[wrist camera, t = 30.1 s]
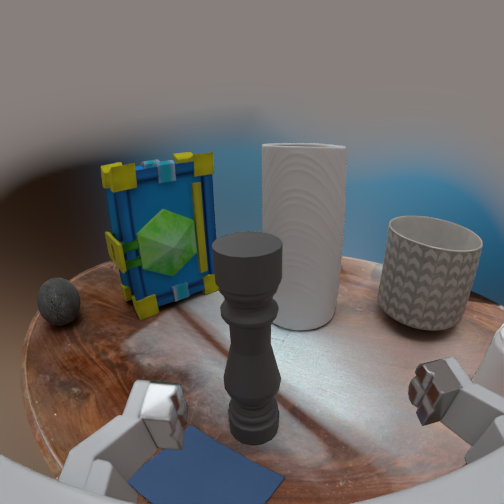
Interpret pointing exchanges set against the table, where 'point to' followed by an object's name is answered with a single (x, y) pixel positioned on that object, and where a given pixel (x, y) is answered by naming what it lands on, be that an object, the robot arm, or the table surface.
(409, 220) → the planter
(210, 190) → the decorative book
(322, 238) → the vase
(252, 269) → the candle holder
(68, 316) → the decorative ball
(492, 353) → the beverage can
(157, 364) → the table surface
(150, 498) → the blue cloth
